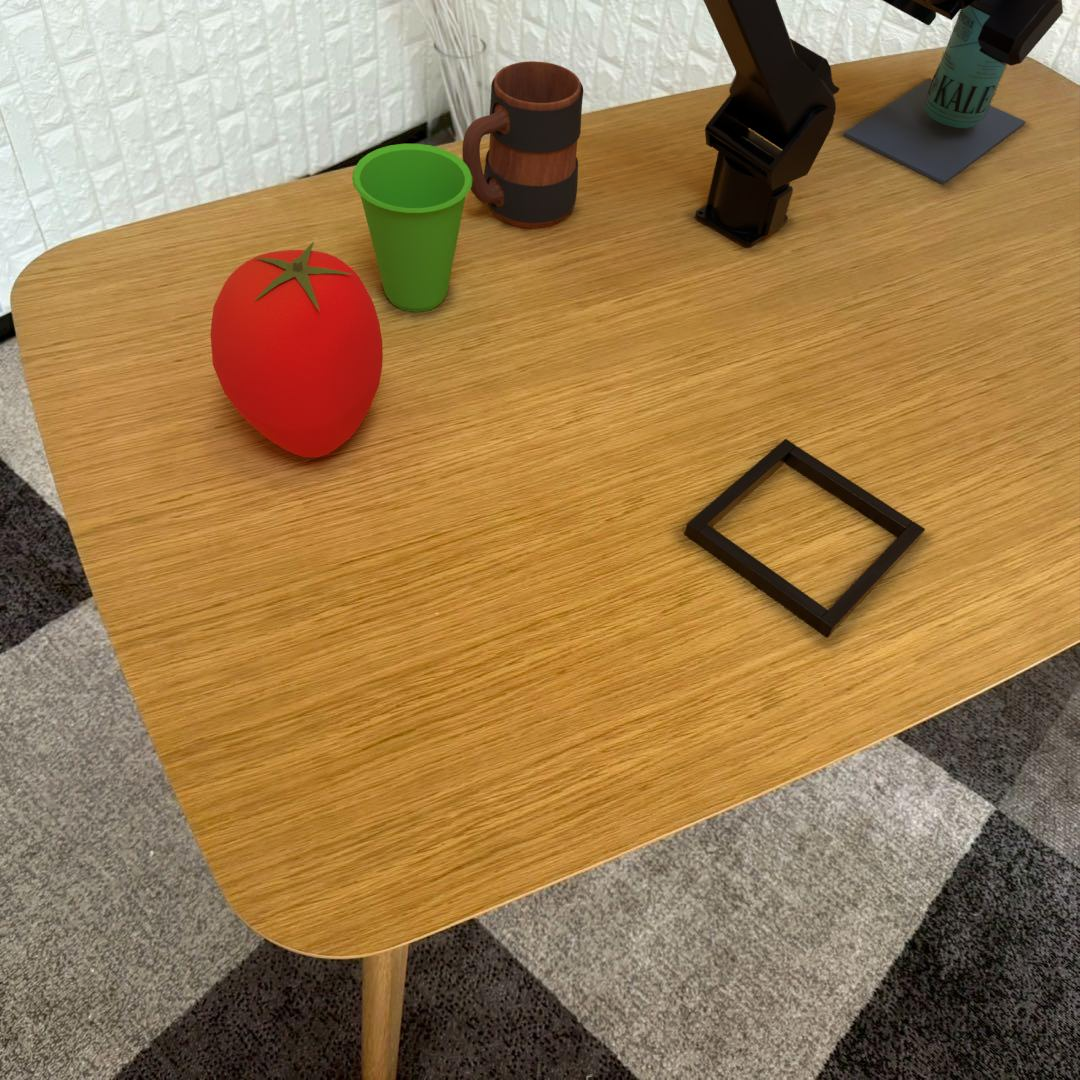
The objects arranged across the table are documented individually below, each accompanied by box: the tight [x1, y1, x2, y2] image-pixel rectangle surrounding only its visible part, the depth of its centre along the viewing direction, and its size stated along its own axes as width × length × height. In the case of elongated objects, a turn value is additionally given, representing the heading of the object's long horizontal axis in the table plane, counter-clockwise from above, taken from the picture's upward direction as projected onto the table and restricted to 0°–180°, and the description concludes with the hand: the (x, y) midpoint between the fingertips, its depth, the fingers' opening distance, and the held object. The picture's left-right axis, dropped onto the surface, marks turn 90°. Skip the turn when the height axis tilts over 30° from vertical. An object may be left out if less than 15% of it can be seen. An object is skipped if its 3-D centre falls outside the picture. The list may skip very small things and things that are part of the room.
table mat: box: [842, 77, 1026, 185], centre depth 109 cm, size 12×18×1 cm, turn 137°
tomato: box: [209, 241, 384, 458], centre depth 70 cm, size 13×11×14 cm
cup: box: [351, 143, 472, 313], centre depth 81 cm, size 9×9×11 cm
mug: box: [462, 60, 584, 229], centre depth 89 cm, size 9×12×12 cm
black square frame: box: [683, 438, 926, 638], centre depth 71 cm, size 12×12×1 cm
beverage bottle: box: [925, 6, 1009, 128], centre depth 101 cm, size 6×7×20 cm
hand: (968, 40), depth 99 cm, fingers open, 9 cm apart
